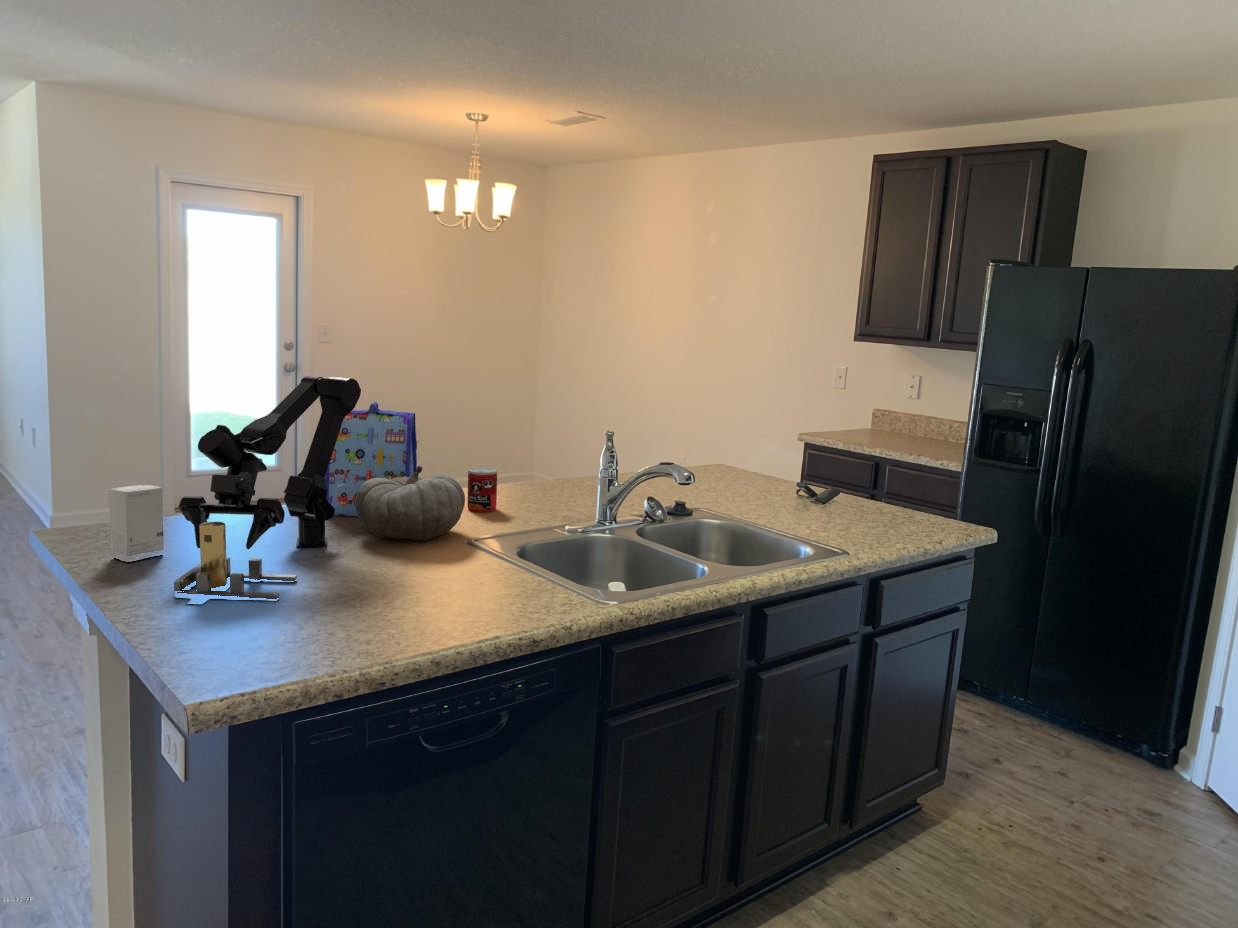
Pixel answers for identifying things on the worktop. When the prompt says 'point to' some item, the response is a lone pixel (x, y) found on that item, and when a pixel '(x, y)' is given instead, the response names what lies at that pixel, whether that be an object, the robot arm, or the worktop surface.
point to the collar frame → (235, 581)
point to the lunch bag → (369, 453)
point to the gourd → (410, 506)
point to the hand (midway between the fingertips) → (222, 547)
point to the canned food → (482, 489)
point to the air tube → (213, 552)
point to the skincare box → (136, 519)
